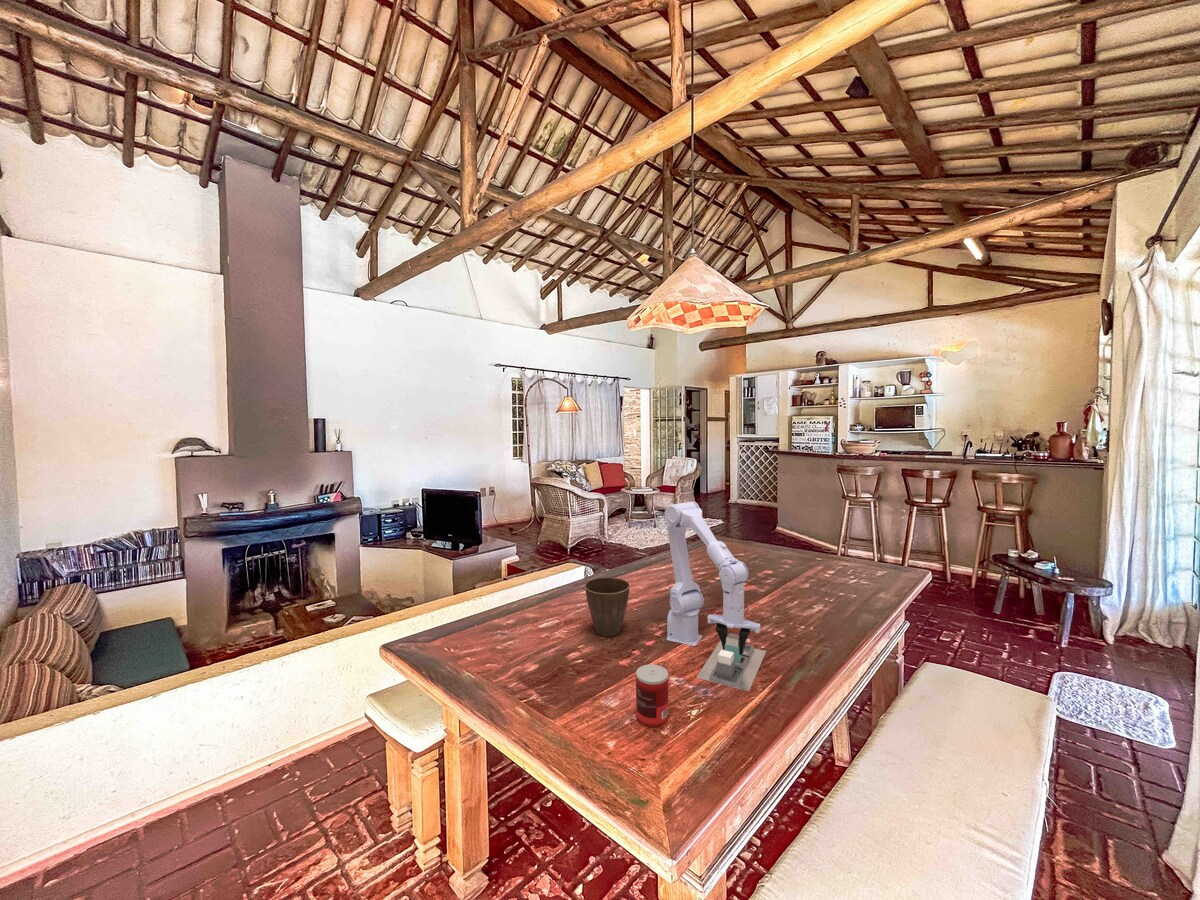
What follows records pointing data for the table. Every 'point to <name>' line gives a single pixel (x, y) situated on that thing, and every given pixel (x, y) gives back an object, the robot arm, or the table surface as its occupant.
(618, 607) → the plant pot
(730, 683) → the panel
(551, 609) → the table surface
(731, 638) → the plug
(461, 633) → the table surface
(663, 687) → the canned food
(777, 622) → the table surface
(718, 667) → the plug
